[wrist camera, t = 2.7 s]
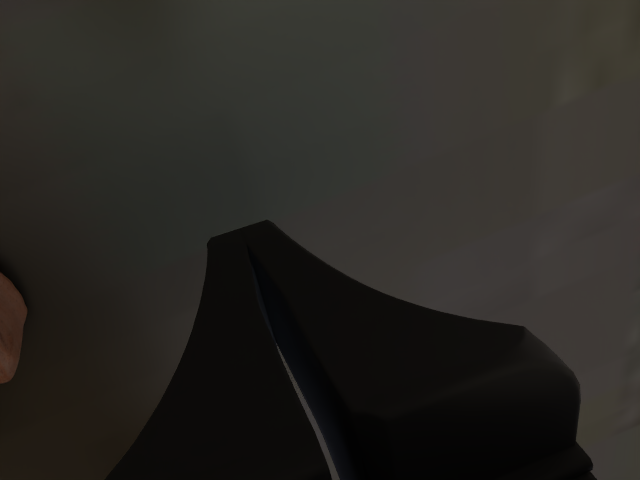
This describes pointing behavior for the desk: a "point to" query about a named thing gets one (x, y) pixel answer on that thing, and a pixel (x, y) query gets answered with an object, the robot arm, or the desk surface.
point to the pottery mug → (10, 328)
